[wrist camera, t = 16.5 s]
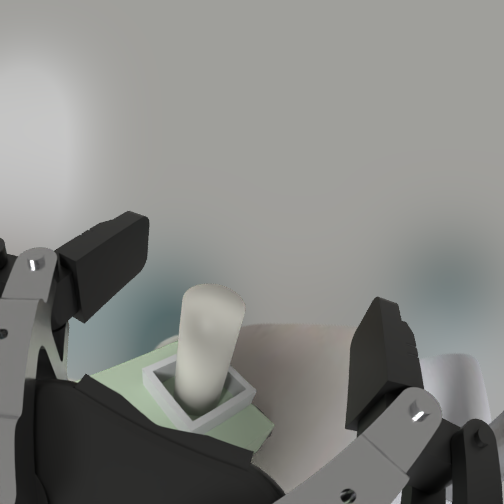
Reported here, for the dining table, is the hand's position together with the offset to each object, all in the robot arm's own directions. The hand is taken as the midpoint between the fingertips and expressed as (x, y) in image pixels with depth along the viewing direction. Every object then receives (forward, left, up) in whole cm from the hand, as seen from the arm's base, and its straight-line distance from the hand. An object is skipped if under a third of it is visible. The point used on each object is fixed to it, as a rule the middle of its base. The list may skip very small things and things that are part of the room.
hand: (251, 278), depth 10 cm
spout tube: (+8, -7, -24) cm, 26 cm away
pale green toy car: (+8, -2, -32) cm, 33 cm away
